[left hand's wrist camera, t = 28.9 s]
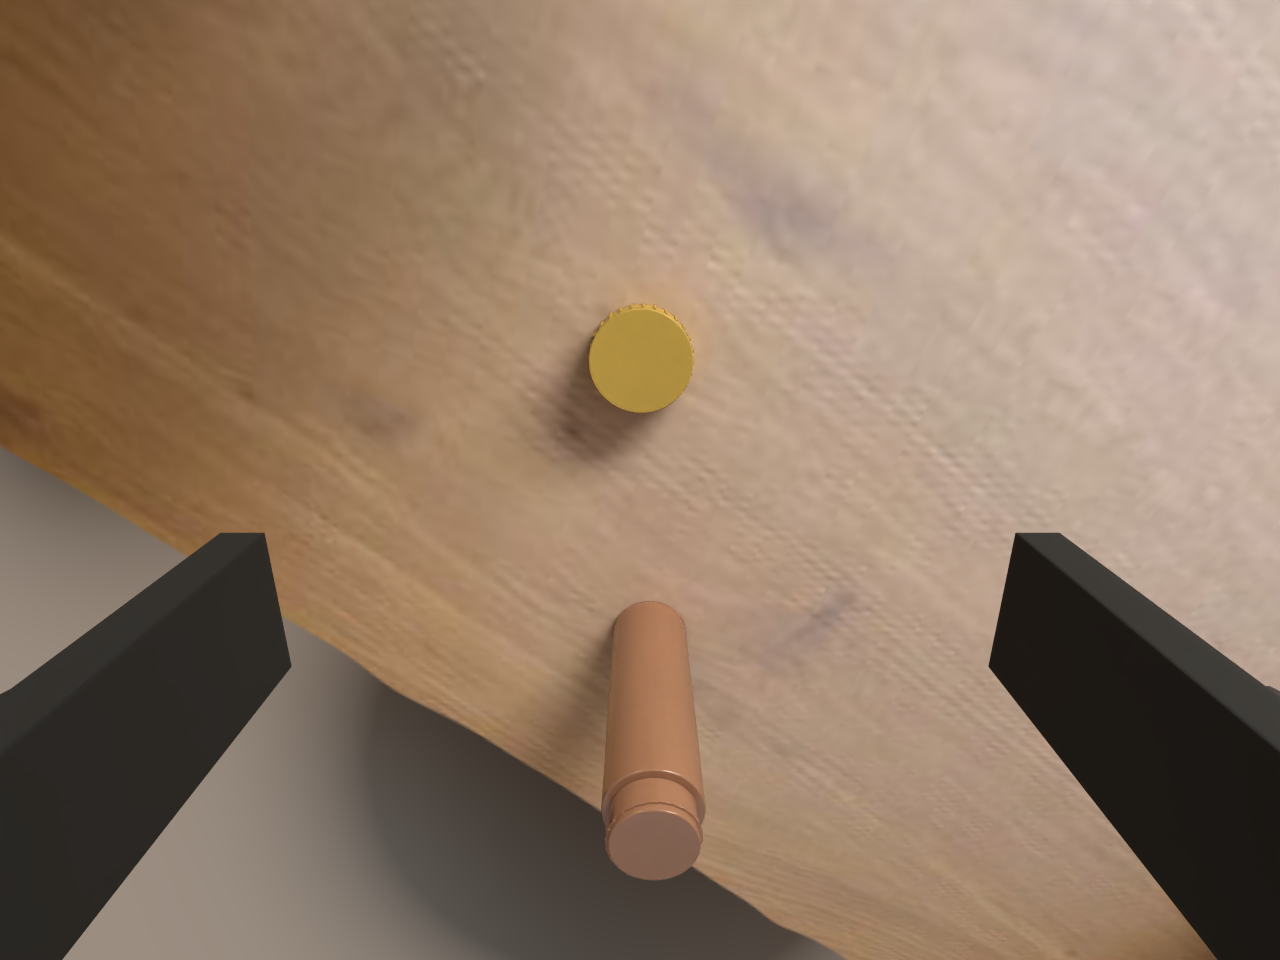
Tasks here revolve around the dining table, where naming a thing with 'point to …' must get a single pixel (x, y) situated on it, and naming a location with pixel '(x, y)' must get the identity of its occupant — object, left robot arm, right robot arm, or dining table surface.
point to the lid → (640, 358)
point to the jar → (652, 747)
